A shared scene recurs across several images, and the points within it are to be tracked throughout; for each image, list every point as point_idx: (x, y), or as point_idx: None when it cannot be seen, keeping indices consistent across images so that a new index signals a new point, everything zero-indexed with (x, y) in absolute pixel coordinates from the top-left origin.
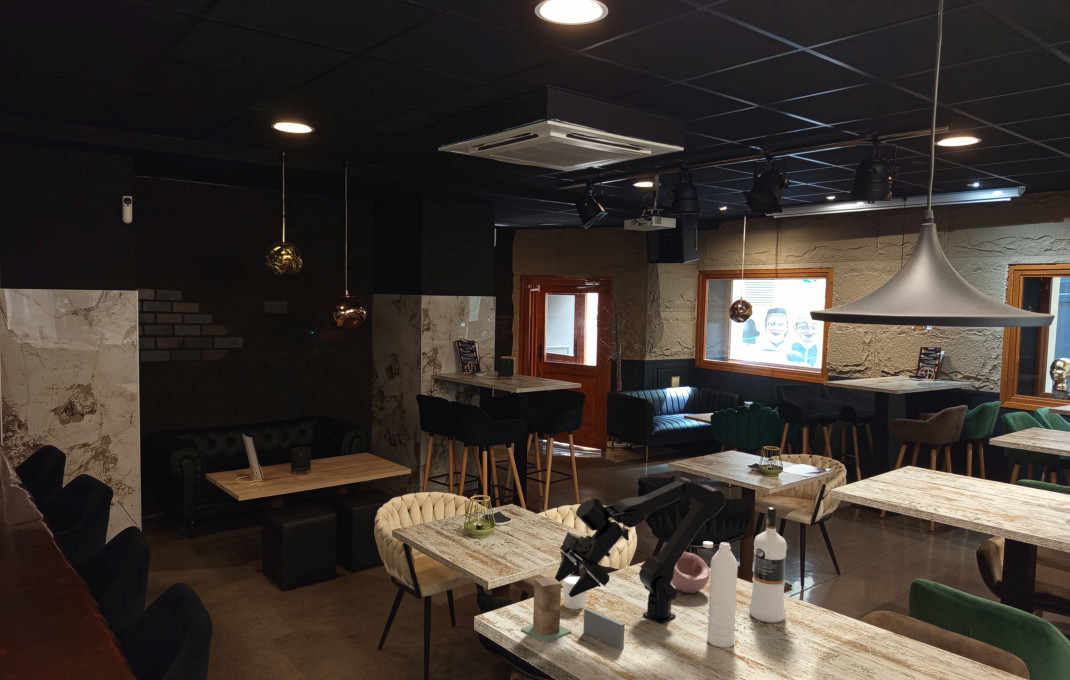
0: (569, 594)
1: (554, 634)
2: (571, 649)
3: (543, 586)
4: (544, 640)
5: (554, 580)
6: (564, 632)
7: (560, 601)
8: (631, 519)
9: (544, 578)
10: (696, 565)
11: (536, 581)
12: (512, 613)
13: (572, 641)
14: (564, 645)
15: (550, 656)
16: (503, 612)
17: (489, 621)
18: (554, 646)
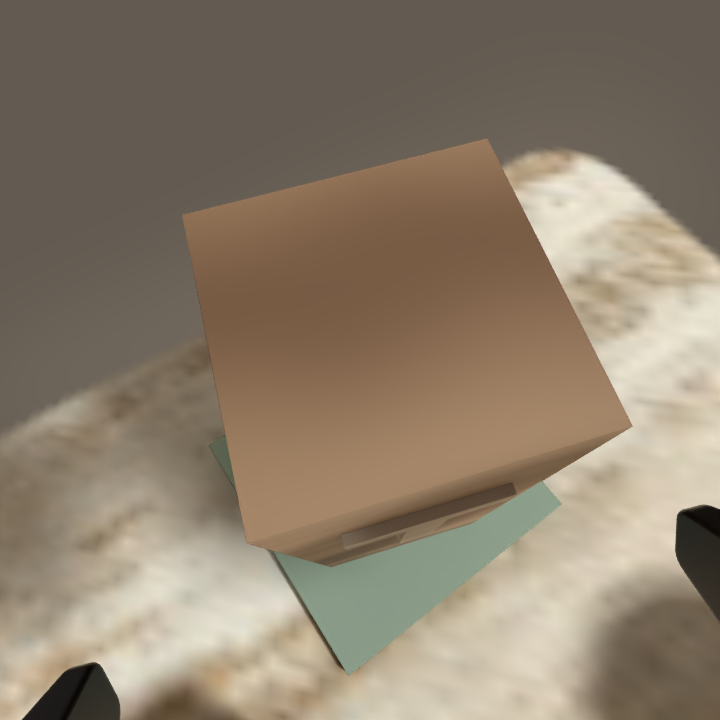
0: (65, 674)
1: None
2: (88, 612)
3: (188, 225)
4: (225, 437)
5: (410, 432)
6: (325, 609)
7: (297, 557)
8: None
9: (507, 274)
10: None
11: (417, 166)
12: (650, 298)
13: (202, 649)
14: (156, 571)
15: (40, 447)
16: (658, 250)
17: (524, 174)
18: (158, 496)
